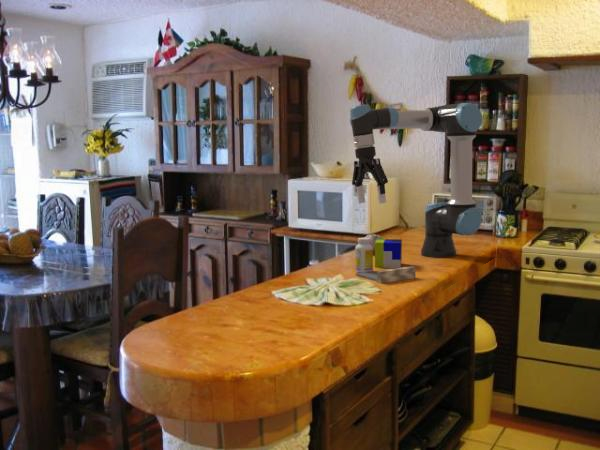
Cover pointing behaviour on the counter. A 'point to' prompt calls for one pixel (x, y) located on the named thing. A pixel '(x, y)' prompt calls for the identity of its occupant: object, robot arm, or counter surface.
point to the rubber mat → (369, 275)
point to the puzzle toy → (388, 253)
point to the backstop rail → (395, 274)
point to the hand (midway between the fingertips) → (372, 203)
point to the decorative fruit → (373, 240)
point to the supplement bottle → (364, 256)
